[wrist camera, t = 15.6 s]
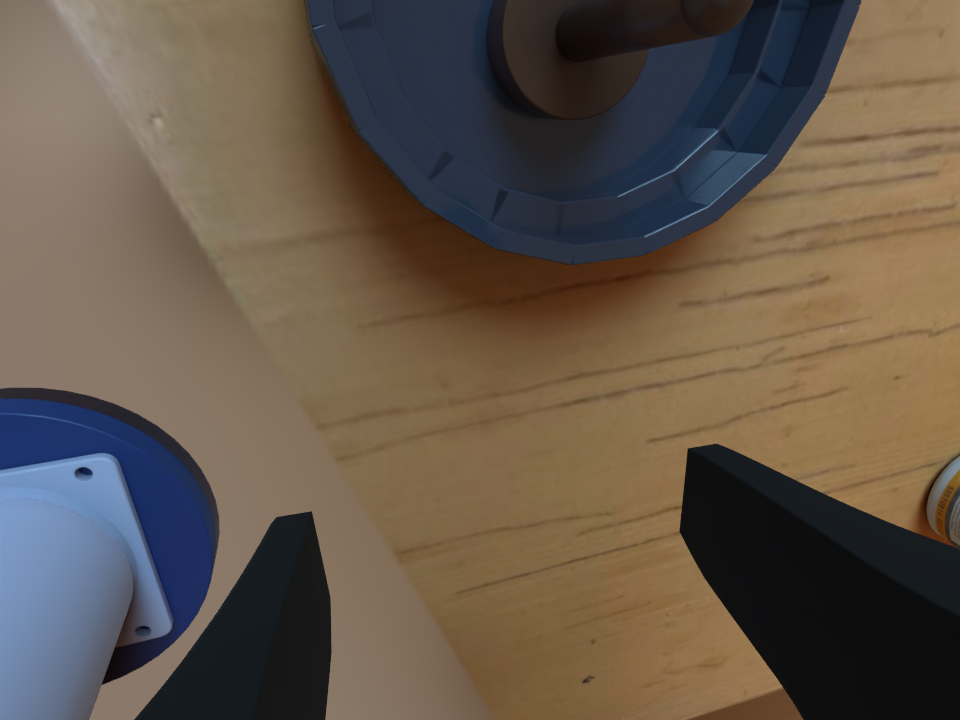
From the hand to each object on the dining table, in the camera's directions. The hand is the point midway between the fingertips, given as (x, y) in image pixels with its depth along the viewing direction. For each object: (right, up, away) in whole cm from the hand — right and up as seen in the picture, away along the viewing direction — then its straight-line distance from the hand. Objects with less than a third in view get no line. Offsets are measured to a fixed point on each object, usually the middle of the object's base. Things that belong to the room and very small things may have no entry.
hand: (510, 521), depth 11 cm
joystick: (+2, +13, +7) cm, 14 cm away
